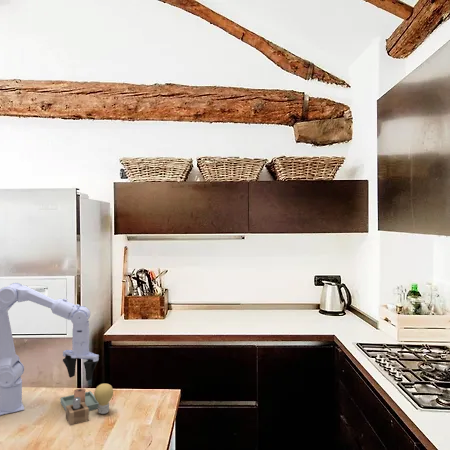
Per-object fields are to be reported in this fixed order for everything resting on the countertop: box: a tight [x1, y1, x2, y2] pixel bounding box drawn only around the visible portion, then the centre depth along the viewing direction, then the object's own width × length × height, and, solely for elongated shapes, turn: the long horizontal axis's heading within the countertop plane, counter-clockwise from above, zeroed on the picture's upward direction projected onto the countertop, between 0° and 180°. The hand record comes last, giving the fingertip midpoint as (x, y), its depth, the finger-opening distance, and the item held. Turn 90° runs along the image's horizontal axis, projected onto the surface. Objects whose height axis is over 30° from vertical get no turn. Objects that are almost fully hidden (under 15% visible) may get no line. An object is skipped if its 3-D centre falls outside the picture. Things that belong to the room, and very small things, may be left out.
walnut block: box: [65, 402, 90, 426], centre depth 140 cm, size 6×6×4 cm
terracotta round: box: [73, 387, 86, 403], centre depth 150 cm, size 4×4×5 cm
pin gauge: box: [73, 397, 81, 411], centre depth 140 cm, size 2×2×7 cm
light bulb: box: [93, 383, 114, 415], centre depth 145 cm, size 6×6×10 cm
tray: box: [59, 390, 99, 412], centre depth 151 cm, size 12×11×2 cm
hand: (80, 378), depth 150 cm, fingers open, 7 cm apart
